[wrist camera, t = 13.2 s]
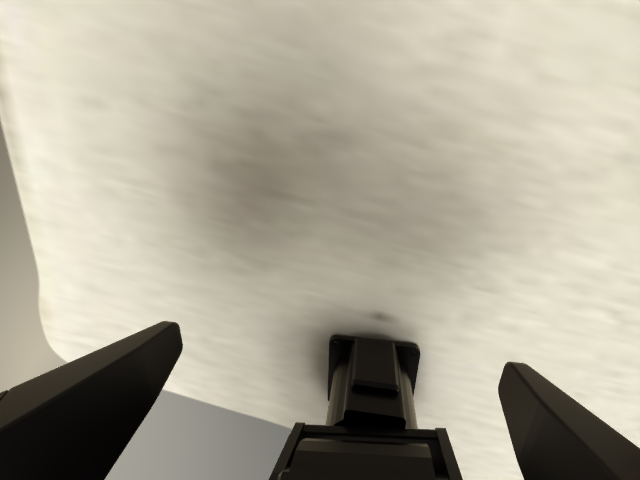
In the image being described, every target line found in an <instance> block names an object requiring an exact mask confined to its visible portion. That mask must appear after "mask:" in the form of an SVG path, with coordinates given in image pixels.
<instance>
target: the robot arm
mask: <svg viewBox="0 0 640 480" xmlns="http://www.w3.org/2000/svg"><path fill="white" fill-rule="evenodd" d="M334 341H337V342H339V343H335V342H334ZM182 348H183V343H182V338H181V333H180V327H179V325H178V323H176V322H169V321H163V322H160V323H158V324H156V325H153V326H151V327H149V328H147V329H144V330H142V331H140V332H138V333H135V334H133V335H131V336H128V337H126V338H124V339H122V340H119V341H117V342H115V343H113V344H110V345H108V346H106V347H104V348H101V349H99V350H97V351H94V352H92V353H90V354H88V355H85V356H83V357H81V358H79V359H76V360H74V361H72V362H70V363H67V364H65V365H63V366H60V367H58V368H56V369H54V370H51V371H49V372H47V373H45V374H42V375H40V376H38V377H36V378H34V379H31V380H29V381H26V382H24V383H22V384H20V385H17V386H15V387H13V388H11V389H10V390H9V391H8V390H6V391H4V392H1V393H0V480H104V479H105V478H106V476H107V475H108V473H109V472H110V470H111V468H112V467H113V465H114V464H115V462H116V461H117V459H118V458H119V456H120V455H121V453H122V452H123V450H124V449H125V447H126V446H127V444H128V443H129V441H130V440H131V438H132V437H133V435H134V434H135V432H136V430H137V429H138V427H139V426H140V424H141V423H142V421H143V420H144V418H145V417H146V415H147V414H148V412H149V411H150V409H151V407H152V406H153V404H154V403H155V401H156V399H157V397H158V396H159V394H160V392H161V390H162V388H163V386H164V385H165V383H166V381H167V379H168V377H169V375H170V373H171V371H172V370H173V368H174V366H175V364H176V362H177V360H178V358H179V356H180V354H181V352H182ZM412 350H414V351H415V352H410V351H412ZM419 359H420V349H419V347H418V346H417V345H415V344H410V343H401V342H393V341H384V340H375V339H367V338H358V337H349V336H341V335H334V336H332V337H331V338H330V343H329V375H328V401H329V407H328V413H327V420H326V425H305V423H298V422H296V423H295V425H294V427H293V430H292V432H291V434H290V435H289V437H288V439H287V442H286V443H285V446H284V448H283V450H282V452H281V454H280V457H279V459H278V461H277V463H276V465H275V468H274V469H273V472H272V474H271V476H270V478H269V480H463V479H462V476H461V473H460V470H459V467H458V464H457V461H456V458H455V455H454V452H453V449H452V446H451V443H450V440H449V437H448V434H447V431H446V428H435V430H429V429H418V428H417V421H416V414H415V408H414V401H413V395H414V389H415V383H416V377H417V371H418V365H419ZM498 393H499V398H500V401H501V405H502V409H503V412H504V416H505V419H506V423H507V426H508V430H509V434H510V437H511V441H512V444H513V448H514V451H515V455H516V458H517V461H518V464H519V467H520V469H521V472H522V475H523V477H524V480H640V448H639V447H637V446H636V445H634V444H633V443H632V442H630V441H629V440H628V439H626V438H625V437H624V436H622V435H621V434H620V433H618V432H617V431H616V430H614V429H613V428H612V427H610V426H609V425H608V424H606V423H605V422H604V421H602V420H601V419H600V418H598V417H597V416H595V415H594V414H593V413H591V412H590V411H589V410H587V409H586V408H585V407H583V406H582V405H581V404H579V403H578V402H577V401H575V400H574V399H573V398H571V397H570V396H569V395H567V394H566V393H565V392H563V391H562V390H560V389H559V388H558V387H556V386H555V385H554V384H552V383H551V382H550V381H548V380H547V379H546V378H544V377H543V376H542V375H540V374H539V373H538V372H536V371H535V370H534V369H532V368H531V367H530V366H528V365H527V364H524V363H518V362H507V363H506V364H505V366H504V369H503V372H502V376H501V379H500V383H499V386H498Z"/></svg>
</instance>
